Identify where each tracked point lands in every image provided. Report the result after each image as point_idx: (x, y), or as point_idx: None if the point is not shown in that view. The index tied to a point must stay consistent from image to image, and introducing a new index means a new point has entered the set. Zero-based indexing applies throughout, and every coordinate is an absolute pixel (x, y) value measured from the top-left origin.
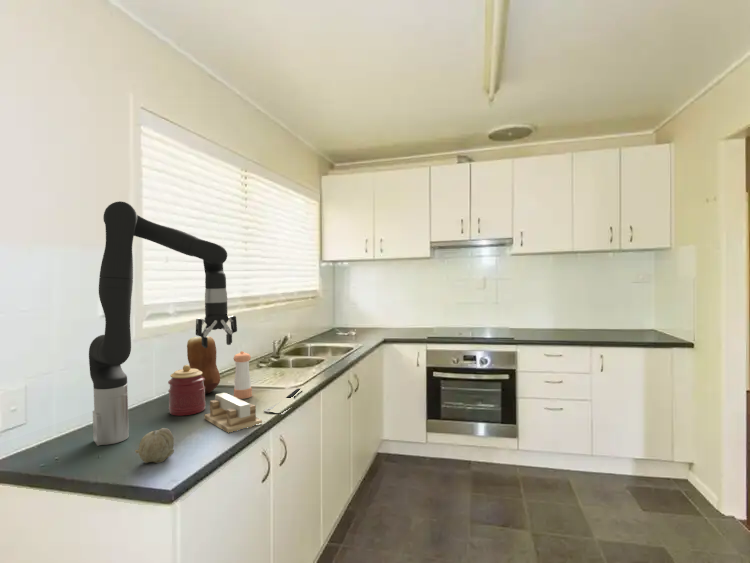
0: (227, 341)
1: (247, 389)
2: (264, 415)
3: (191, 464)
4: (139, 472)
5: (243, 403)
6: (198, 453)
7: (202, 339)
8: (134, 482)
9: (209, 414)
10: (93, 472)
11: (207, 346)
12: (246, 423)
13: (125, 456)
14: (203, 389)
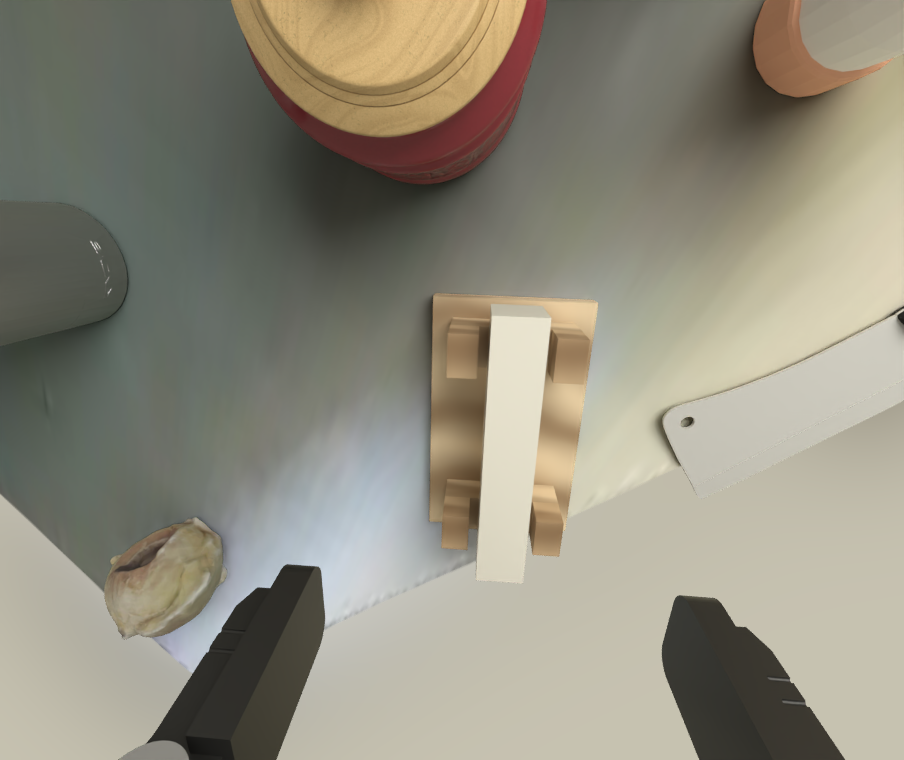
0: (694, 667)
1: (849, 76)
2: (637, 443)
3: None
4: None
5: (506, 560)
6: None
7: (190, 718)
8: None
9: (451, 311)
10: (45, 500)
11: (315, 650)
12: None
13: (119, 456)
14: (489, 136)
